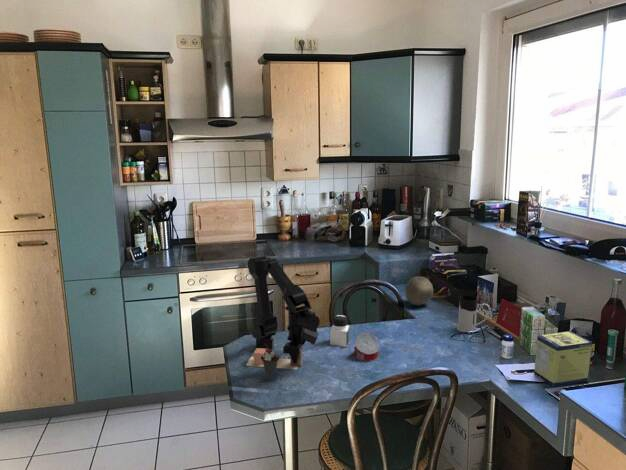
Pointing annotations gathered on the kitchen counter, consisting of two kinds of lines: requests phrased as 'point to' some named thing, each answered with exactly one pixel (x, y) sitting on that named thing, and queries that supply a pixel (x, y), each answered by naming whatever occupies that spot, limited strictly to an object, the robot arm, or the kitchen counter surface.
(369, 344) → the canned food
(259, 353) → the block
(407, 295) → the cantaloupe
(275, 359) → the sundae
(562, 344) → the protein box
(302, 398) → the kitchen counter surface
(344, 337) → the medicine bottle
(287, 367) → the strip
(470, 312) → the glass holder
